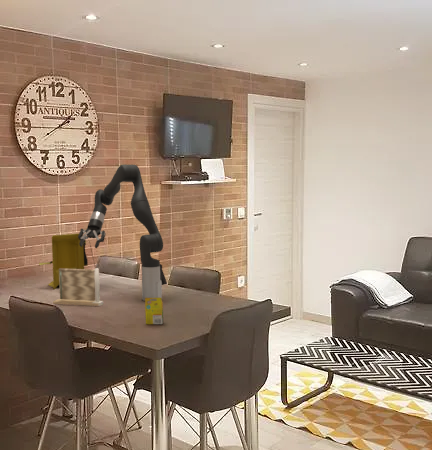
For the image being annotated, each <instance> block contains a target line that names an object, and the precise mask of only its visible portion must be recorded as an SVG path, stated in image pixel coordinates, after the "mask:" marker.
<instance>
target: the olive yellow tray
mask: <svg viewBox="0 0 432 450" xmlns="http://www.w3.org/2000/svg"><path fill="white" fill-rule="evenodd" d="M78 235H79V233H67V234H56V235H54V234H53V235H51V251H52V252H51V254H52V255H51V256H52V258H51V259H52V260H51V261H47V262H39V263H38V265H39V266H43V265H51V264H52V278H53V279H52V281H50V283H47V286H49V287H51V288H52V289H53V290H56V289H57V287H58V286H59V268H63V269H85V267H88V264H89V262H88V257H87V254H86V253H87V252H86V245H87V239H85V240H84V243H83V246H82V247H81V246H80V245H79V243H80V240H79V238H78ZM88 241H89V243H91V241H90V240H88ZM89 245H90V248H92V246H91V244H89ZM90 250H91V252H93V250H92V249H90ZM91 256H92V257H94V256H93V253H91ZM92 260H93V264H94V266H96V263H95V259H94V258H92ZM93 270H94V272H95V269H93Z"/></svg>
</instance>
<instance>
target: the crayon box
mask: <svg viewBox="0 0 432 450" xmlns="http://www.w3.org/2000/svg"><path fill="white" fill-rule="evenodd" d="M150 299H157V300H156V301H150ZM162 299H163V297H162V298H145V301H144V309H145V310H144V313H145V325H163V324H164V304H163V301H164V300H162Z"/></svg>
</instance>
